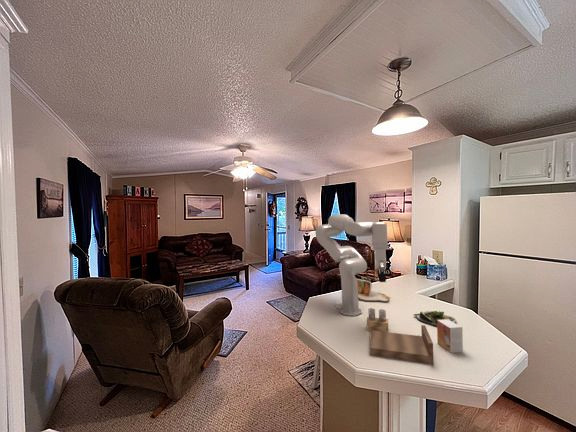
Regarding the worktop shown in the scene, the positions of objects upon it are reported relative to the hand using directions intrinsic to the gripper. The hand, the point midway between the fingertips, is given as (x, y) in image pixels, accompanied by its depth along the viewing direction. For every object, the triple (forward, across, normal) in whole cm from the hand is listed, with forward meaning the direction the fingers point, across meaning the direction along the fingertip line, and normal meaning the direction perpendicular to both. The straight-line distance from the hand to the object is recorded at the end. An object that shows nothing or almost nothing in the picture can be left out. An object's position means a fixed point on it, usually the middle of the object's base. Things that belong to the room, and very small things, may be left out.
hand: (381, 279), depth 126 cm
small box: (+25, +14, +25) cm, 38 cm away
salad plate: (+25, -14, +27) cm, 39 cm away
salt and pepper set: (+24, +4, -3) cm, 25 cm away
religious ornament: (+24, -44, -5) cm, 50 cm away
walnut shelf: (+25, +20, +4) cm, 32 cm away
